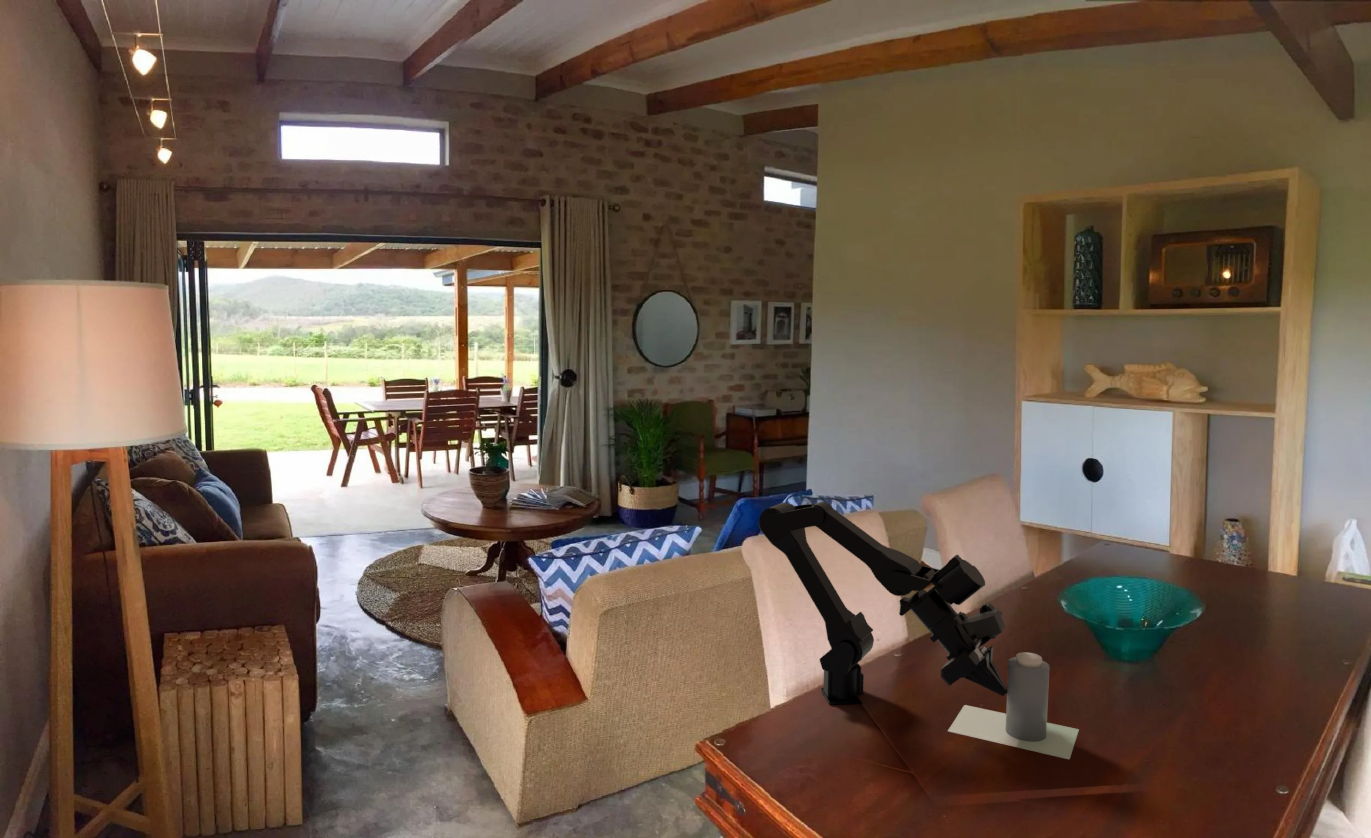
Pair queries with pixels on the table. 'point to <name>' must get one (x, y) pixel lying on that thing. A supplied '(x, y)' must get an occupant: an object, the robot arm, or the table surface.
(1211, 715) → the table surface
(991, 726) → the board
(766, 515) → the robot arm
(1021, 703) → the jar
